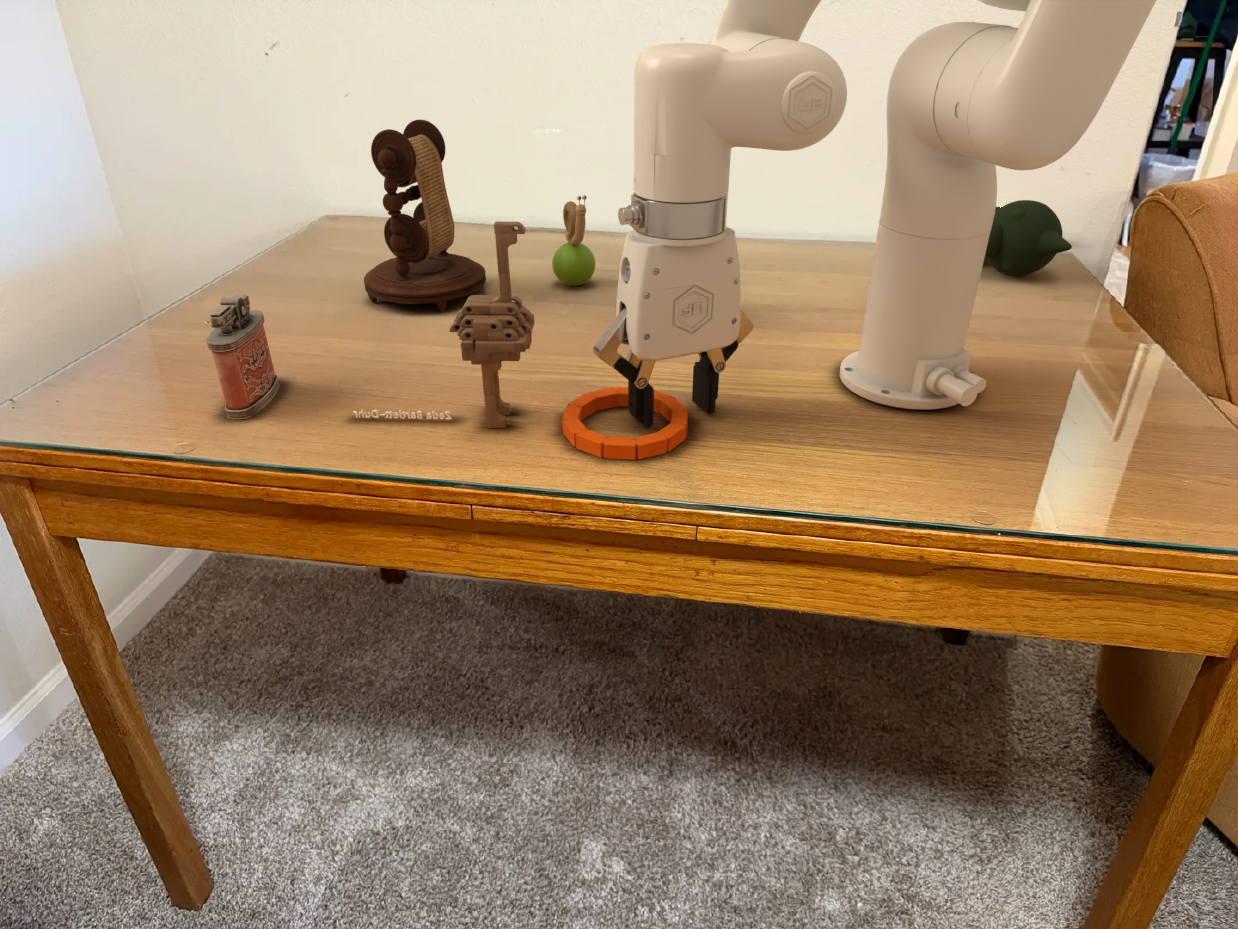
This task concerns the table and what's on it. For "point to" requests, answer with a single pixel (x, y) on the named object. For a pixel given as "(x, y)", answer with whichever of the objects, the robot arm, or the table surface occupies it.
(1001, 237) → the toy figurine
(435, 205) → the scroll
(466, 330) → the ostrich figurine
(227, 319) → the lighter
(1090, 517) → the table surface
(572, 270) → the snail figurine
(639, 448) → the ring
